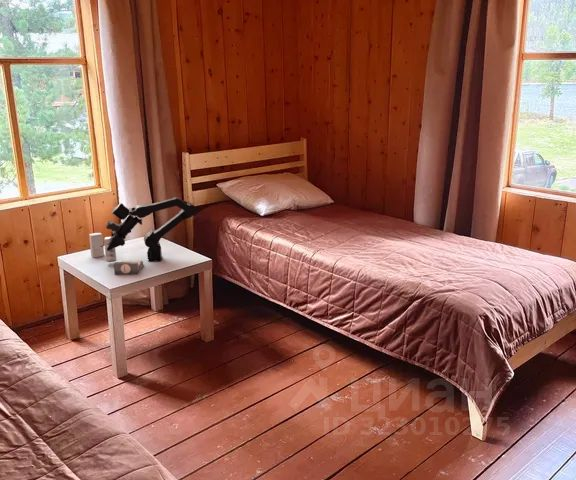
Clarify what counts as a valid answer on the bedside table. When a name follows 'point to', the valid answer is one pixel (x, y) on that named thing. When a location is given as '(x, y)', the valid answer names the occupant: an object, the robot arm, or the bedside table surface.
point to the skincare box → (96, 244)
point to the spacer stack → (111, 253)
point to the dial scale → (128, 267)
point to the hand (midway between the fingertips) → (107, 248)
